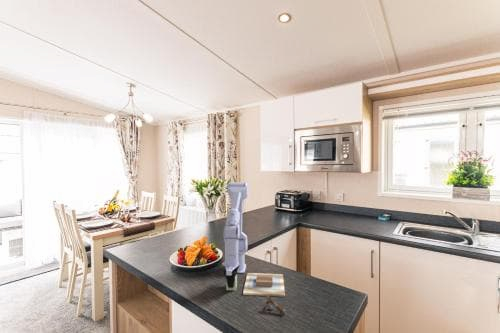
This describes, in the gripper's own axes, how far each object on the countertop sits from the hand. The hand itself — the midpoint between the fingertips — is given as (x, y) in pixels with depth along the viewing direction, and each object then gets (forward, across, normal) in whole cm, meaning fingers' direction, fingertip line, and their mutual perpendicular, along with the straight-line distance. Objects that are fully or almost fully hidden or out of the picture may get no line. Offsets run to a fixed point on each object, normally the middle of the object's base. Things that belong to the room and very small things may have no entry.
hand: (231, 284), depth 103 cm
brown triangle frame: (+2, +15, +18) cm, 24 cm away
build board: (+1, -4, +14) cm, 15 cm away
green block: (+1, 0, 0) cm, 1 cm away
